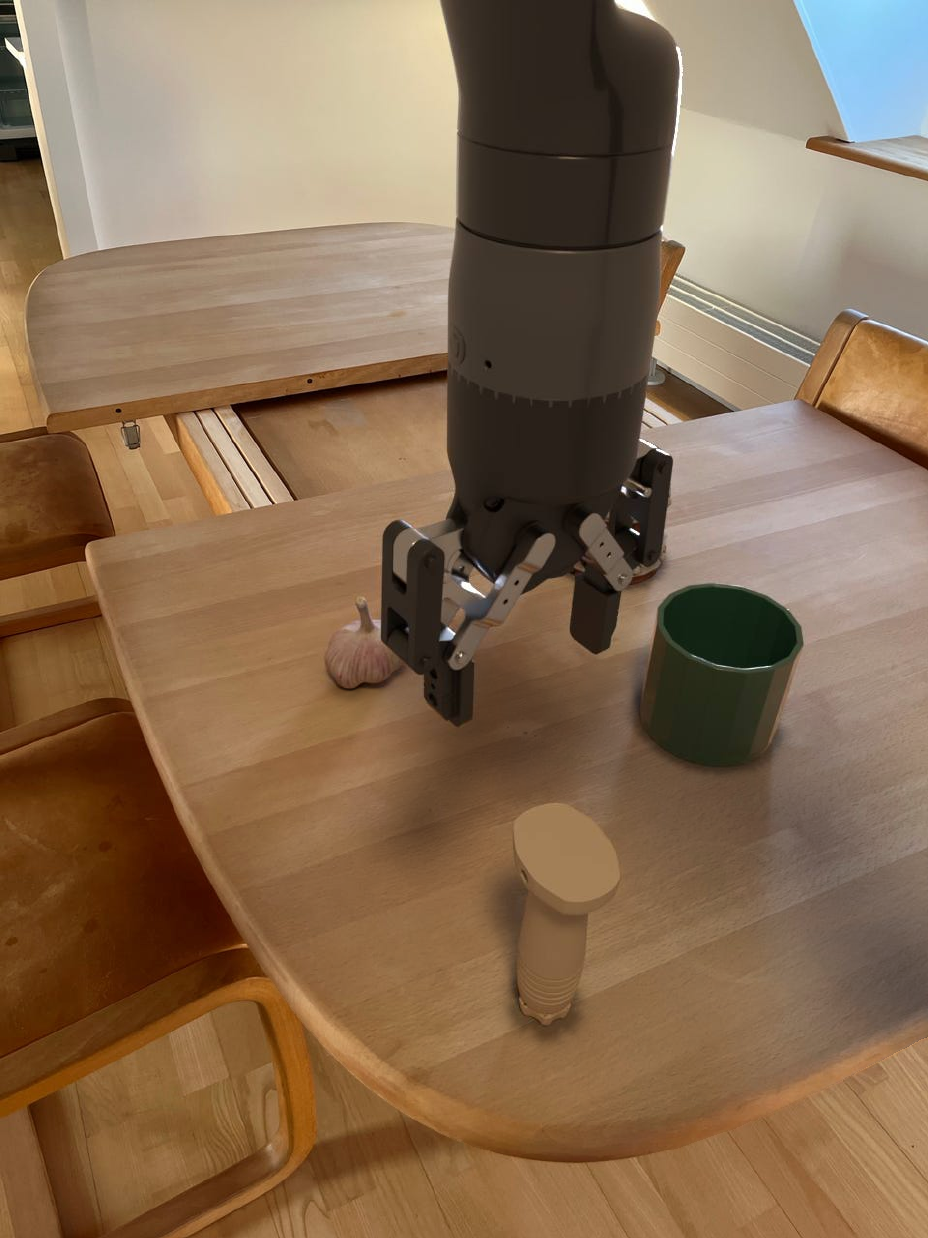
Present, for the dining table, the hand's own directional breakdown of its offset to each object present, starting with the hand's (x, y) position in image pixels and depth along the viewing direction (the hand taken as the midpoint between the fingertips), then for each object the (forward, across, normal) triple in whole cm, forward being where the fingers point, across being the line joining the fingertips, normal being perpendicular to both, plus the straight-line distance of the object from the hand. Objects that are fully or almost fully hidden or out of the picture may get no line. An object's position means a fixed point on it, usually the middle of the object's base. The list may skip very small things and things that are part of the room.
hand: (523, 677), depth 44 cm
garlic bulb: (+25, +9, +29) cm, 40 cm away
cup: (+25, +28, +8) cm, 38 cm away
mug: (+25, +38, +31) cm, 55 cm away
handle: (+25, +1, -3) cm, 25 cm away
